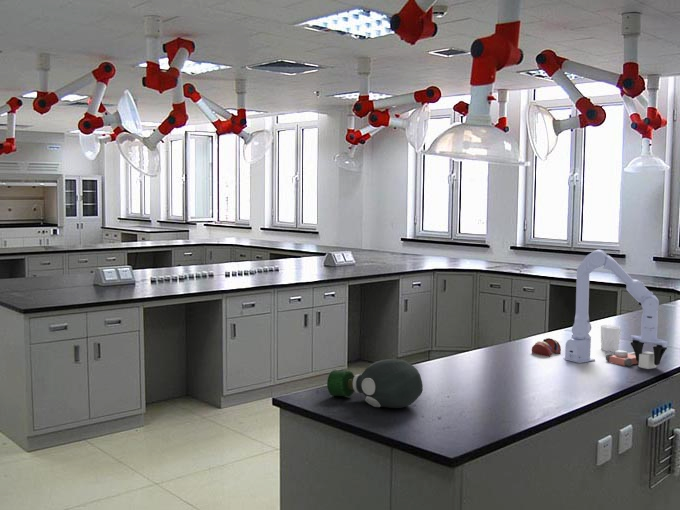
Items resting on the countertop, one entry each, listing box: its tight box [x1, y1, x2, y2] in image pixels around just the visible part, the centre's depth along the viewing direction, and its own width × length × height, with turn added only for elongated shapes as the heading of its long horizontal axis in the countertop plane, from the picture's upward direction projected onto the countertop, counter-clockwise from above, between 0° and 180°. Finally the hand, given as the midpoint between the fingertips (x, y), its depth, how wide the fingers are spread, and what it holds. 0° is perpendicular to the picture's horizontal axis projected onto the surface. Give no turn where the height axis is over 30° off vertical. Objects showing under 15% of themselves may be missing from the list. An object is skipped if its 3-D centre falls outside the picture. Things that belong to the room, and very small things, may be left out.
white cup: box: [600, 324, 622, 353], centre depth 290 cm, size 8×8×10 cm
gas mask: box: [326, 358, 424, 409], centre depth 213 cm, size 14×18×30 cm
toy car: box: [605, 349, 639, 367], centre depth 270 cm, size 18×10×4 cm, turn 122°
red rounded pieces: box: [531, 337, 562, 357], centre depth 283 cm, size 8×6×12 cm
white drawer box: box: [638, 351, 657, 370], centre depth 261 cm, size 5×4×6 cm
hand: (647, 362), depth 261 cm, fingers open, 7 cm apart
